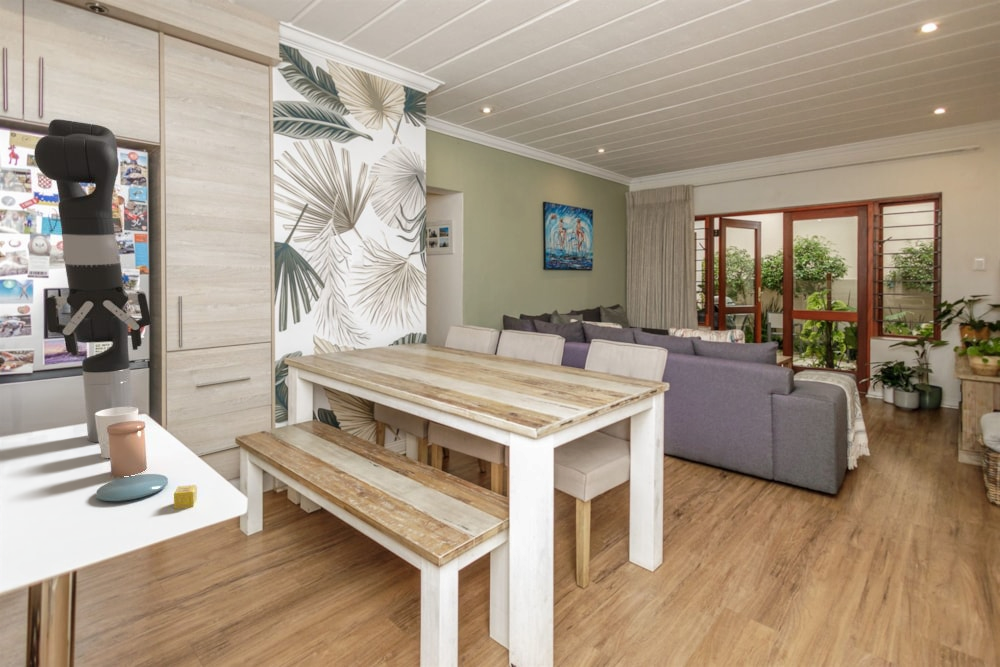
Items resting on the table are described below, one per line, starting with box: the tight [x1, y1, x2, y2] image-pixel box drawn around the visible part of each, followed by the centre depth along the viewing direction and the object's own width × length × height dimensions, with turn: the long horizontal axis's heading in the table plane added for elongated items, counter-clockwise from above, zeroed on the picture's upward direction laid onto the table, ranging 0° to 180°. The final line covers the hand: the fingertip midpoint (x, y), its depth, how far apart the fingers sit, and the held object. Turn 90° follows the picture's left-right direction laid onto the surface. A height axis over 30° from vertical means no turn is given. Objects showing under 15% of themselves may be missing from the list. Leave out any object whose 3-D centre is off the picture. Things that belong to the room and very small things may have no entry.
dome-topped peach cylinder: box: [107, 420, 148, 478], centre depth 105 cm, size 6×6×10 cm
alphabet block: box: [173, 484, 198, 510], centre depth 91 cm, size 3×3×3 cm
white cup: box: [95, 406, 139, 459], centre depth 115 cm, size 8×8×10 cm
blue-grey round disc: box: [95, 473, 169, 502], centre depth 96 cm, size 11×11×1 cm
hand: (106, 351), depth 91 cm, fingers open, 8 cm apart
